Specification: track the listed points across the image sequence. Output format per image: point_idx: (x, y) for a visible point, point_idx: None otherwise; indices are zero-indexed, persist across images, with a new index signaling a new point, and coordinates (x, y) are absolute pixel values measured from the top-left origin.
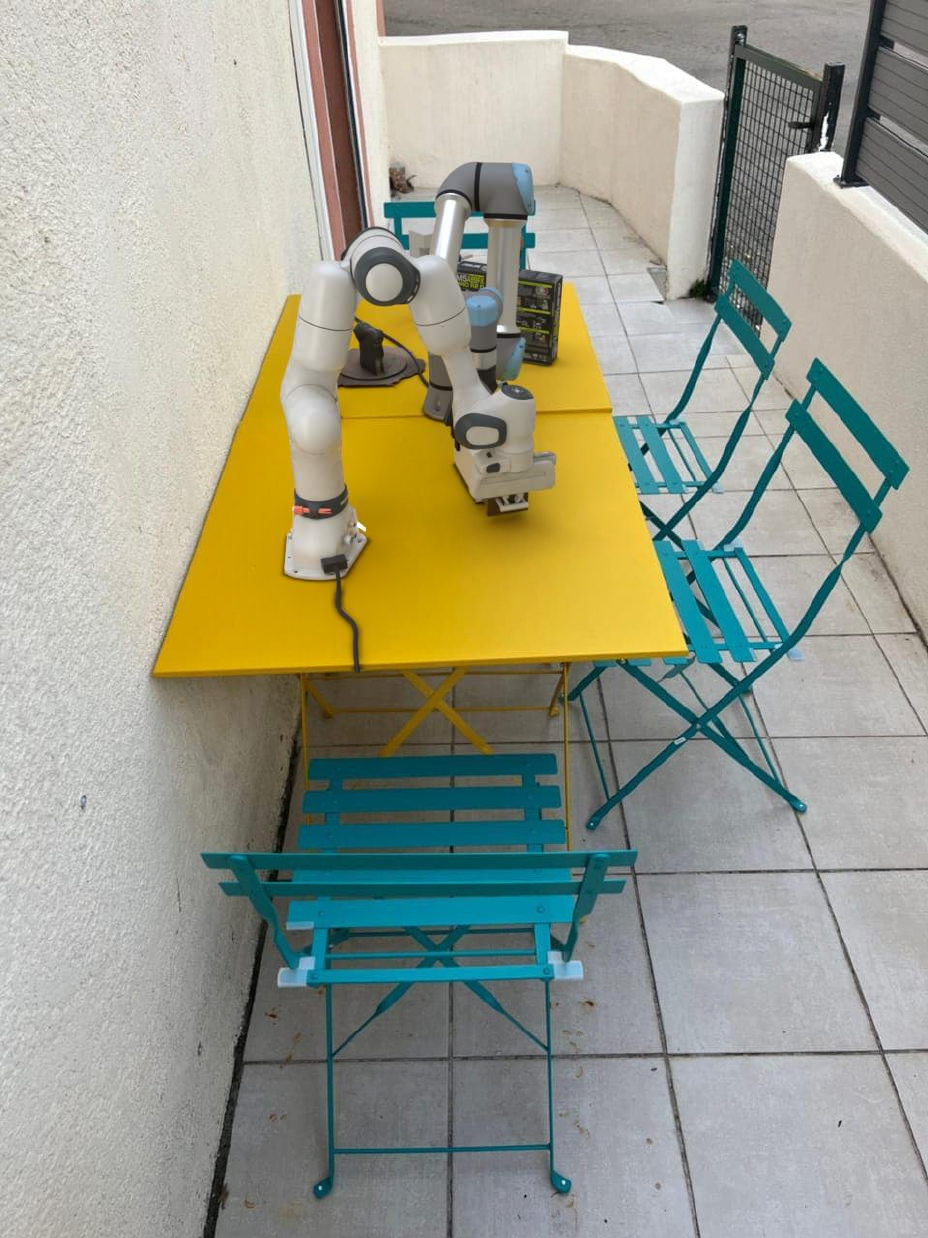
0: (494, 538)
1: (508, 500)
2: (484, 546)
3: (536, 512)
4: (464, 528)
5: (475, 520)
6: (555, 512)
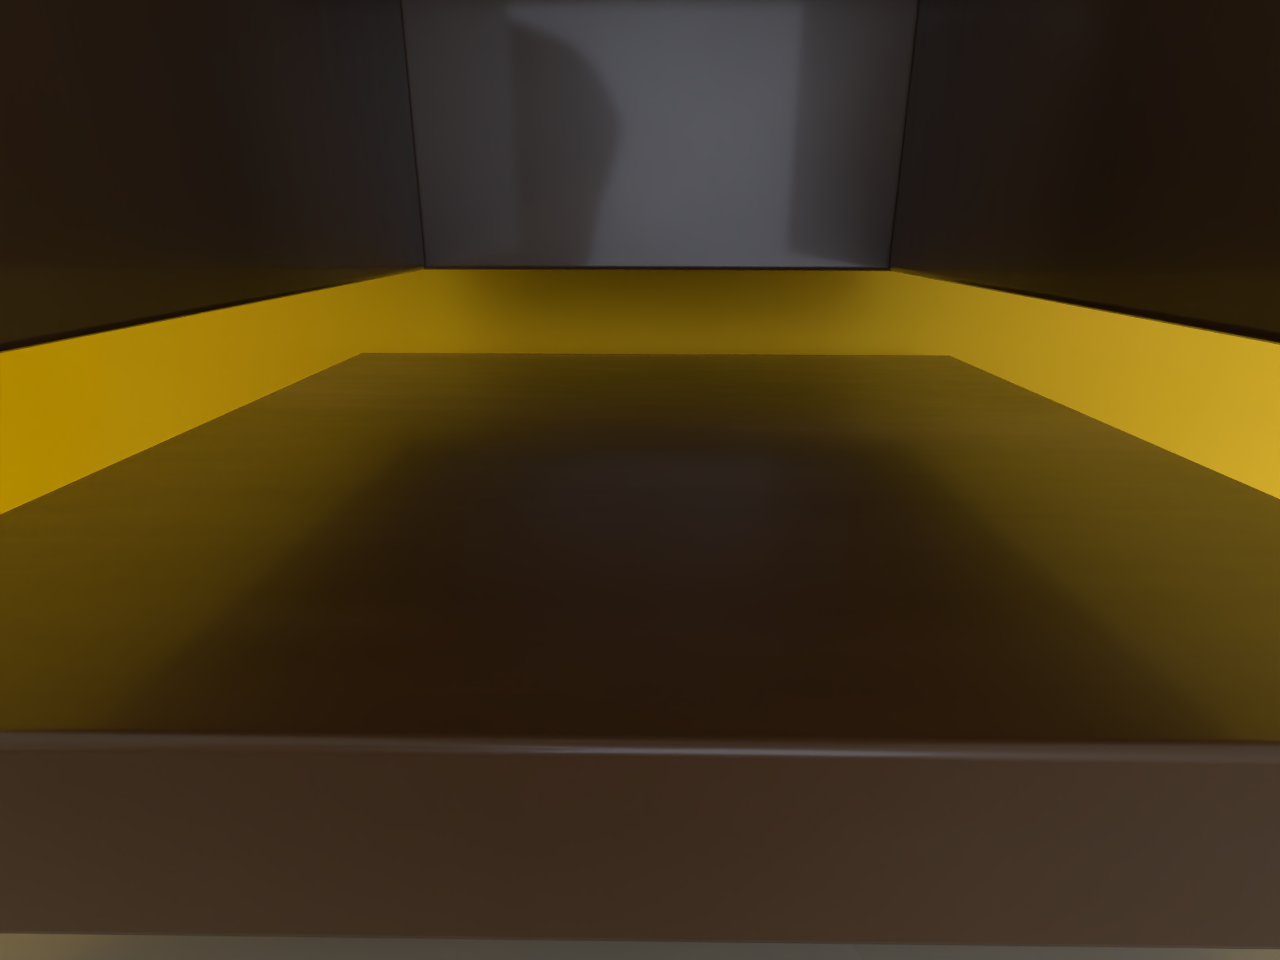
0: None
1: None
2: None
3: (1048, 368)
4: (108, 445)
5: (254, 320)
6: (1260, 434)
